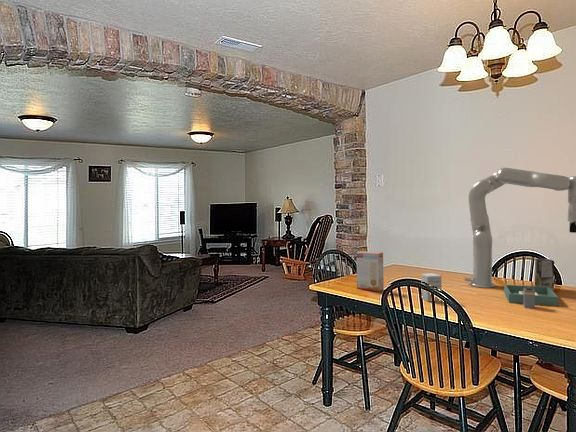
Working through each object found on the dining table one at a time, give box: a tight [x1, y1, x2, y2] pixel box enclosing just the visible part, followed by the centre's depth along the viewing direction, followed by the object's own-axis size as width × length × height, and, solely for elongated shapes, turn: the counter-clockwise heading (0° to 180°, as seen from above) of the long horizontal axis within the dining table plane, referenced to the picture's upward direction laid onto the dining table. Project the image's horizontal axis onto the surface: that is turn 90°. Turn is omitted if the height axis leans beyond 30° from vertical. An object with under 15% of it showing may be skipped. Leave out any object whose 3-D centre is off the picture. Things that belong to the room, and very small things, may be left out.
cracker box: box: [356, 250, 385, 292], centre depth 227 cm, size 14×6×21 cm, turn 47°
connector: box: [522, 287, 536, 309], centre depth 186 cm, size 4×4×9 cm
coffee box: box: [534, 258, 555, 292], centre depth 220 cm, size 9×6×16 cm
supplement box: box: [421, 272, 442, 302], centre depth 202 cm, size 7×7×13 cm
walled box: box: [503, 284, 559, 307], centre depth 201 cm, size 20×22×4 cm
